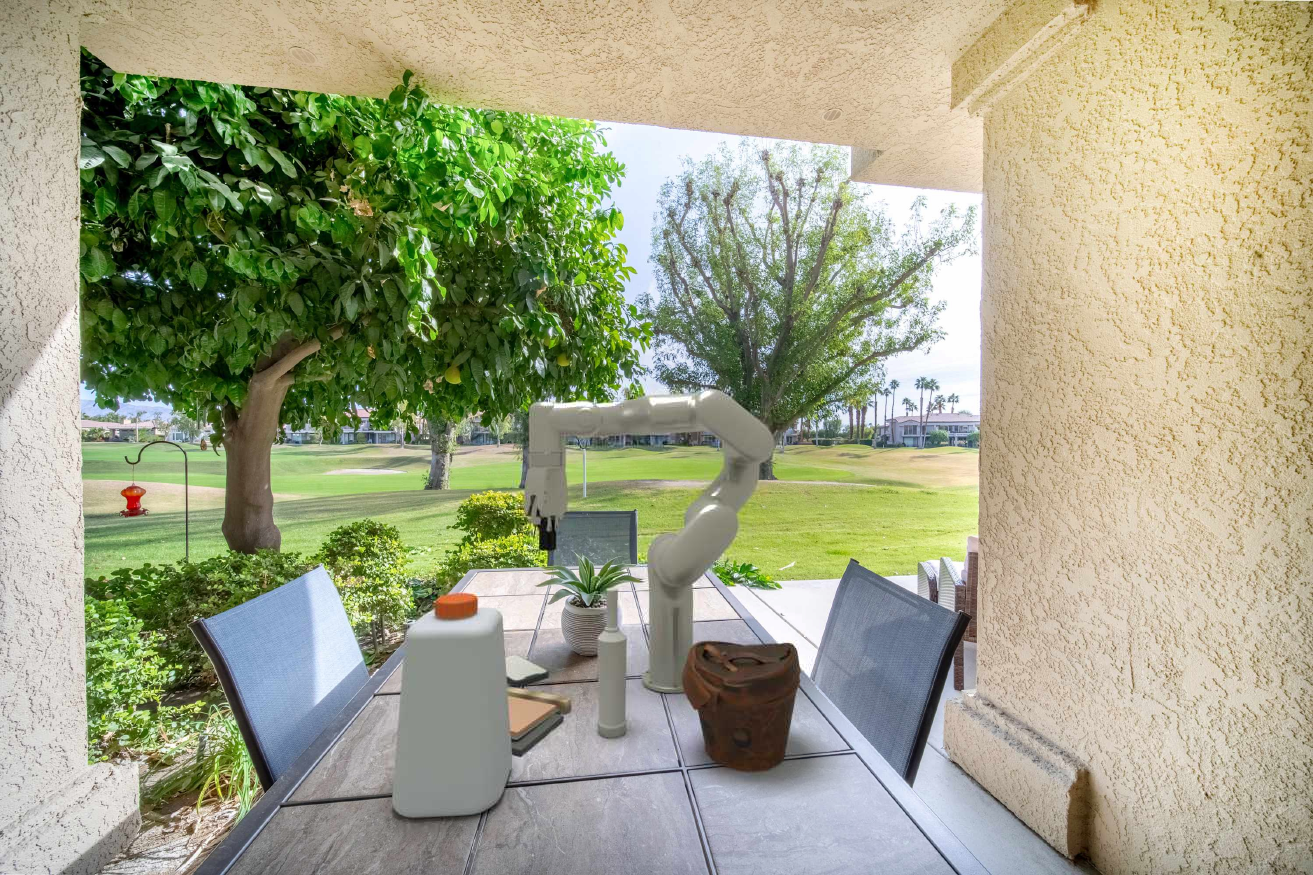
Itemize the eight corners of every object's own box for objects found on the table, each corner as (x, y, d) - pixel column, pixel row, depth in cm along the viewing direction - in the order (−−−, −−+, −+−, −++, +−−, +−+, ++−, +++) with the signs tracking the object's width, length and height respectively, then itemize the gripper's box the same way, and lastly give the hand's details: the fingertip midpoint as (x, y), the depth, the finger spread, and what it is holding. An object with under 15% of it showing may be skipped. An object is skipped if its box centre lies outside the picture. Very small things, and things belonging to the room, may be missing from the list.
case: (664, 736, 99) (665, 632, 99) (763, 716, 106) (764, 620, 106) (712, 796, 82) (713, 672, 82) (825, 768, 90) (826, 654, 90)
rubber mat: (563, 720, 105) (563, 715, 105) (521, 756, 93) (521, 750, 93) (484, 704, 112) (484, 699, 112) (435, 735, 100) (435, 729, 100)
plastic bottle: (420, 762, 91) (421, 586, 92) (516, 758, 92) (516, 584, 93) (382, 824, 76) (383, 613, 77) (497, 818, 77) (497, 610, 78)
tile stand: (571, 709, 109) (571, 698, 109) (561, 717, 106) (561, 705, 106) (502, 696, 115) (502, 685, 115) (491, 703, 112) (491, 691, 112)
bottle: (631, 726, 102) (630, 586, 103) (620, 740, 98) (619, 593, 98) (604, 722, 104) (604, 584, 105) (592, 735, 99) (592, 591, 100)
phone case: (481, 669, 131) (514, 689, 119) (481, 662, 131) (514, 682, 119) (516, 660, 137) (551, 678, 125) (516, 653, 137) (551, 671, 125)
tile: (495, 693, 112) (451, 717, 100) (556, 705, 106) (517, 732, 95) (494, 699, 111) (451, 724, 100) (556, 711, 106) (517, 739, 95)
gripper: (551, 460, 127) (552, 543, 127) (510, 462, 113) (510, 554, 113) (581, 460, 124) (581, 545, 124) (542, 462, 110) (542, 557, 110)
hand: (547, 549), depth 118 cm, fingers closed
